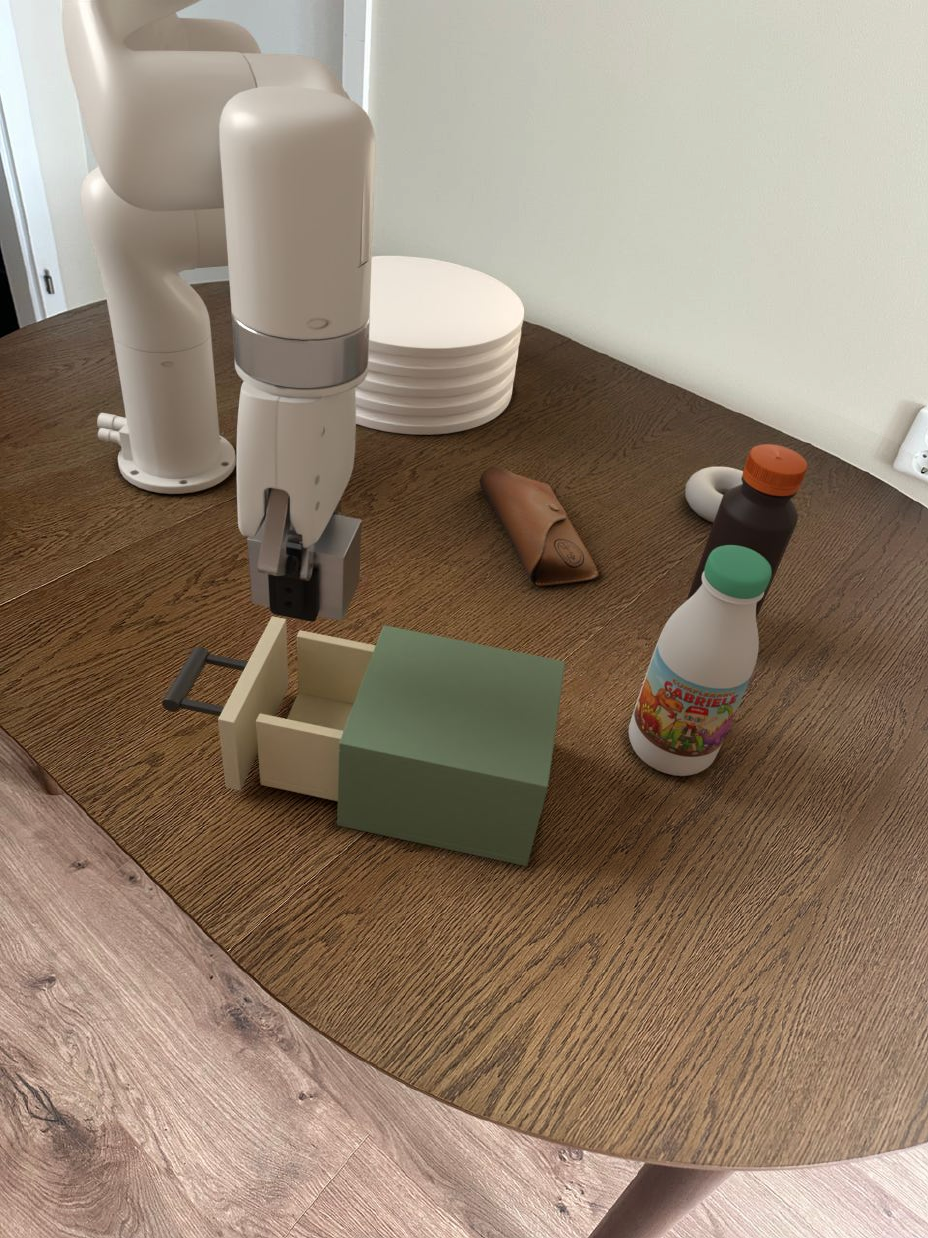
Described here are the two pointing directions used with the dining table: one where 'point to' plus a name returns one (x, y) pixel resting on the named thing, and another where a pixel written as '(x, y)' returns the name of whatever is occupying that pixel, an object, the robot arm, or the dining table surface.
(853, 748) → the dining table surface
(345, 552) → the matte grey box
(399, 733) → the cabinet
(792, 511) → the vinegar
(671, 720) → the milk bottle
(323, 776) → the drawer
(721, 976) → the dining table surface
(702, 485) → the donut
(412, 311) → the plate stack
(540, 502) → the sunglasses case
